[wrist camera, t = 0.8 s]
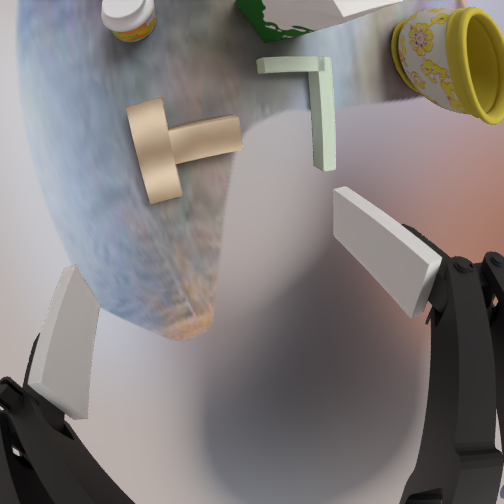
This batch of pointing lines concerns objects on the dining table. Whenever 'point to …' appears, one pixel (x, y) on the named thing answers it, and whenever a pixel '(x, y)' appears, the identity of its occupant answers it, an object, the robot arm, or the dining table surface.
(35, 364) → the robot arm
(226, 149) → the t block
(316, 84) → the corner stop
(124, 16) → the supplement bottle
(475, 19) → the flowerpot
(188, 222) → the dining table surface
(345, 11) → the milk carton
